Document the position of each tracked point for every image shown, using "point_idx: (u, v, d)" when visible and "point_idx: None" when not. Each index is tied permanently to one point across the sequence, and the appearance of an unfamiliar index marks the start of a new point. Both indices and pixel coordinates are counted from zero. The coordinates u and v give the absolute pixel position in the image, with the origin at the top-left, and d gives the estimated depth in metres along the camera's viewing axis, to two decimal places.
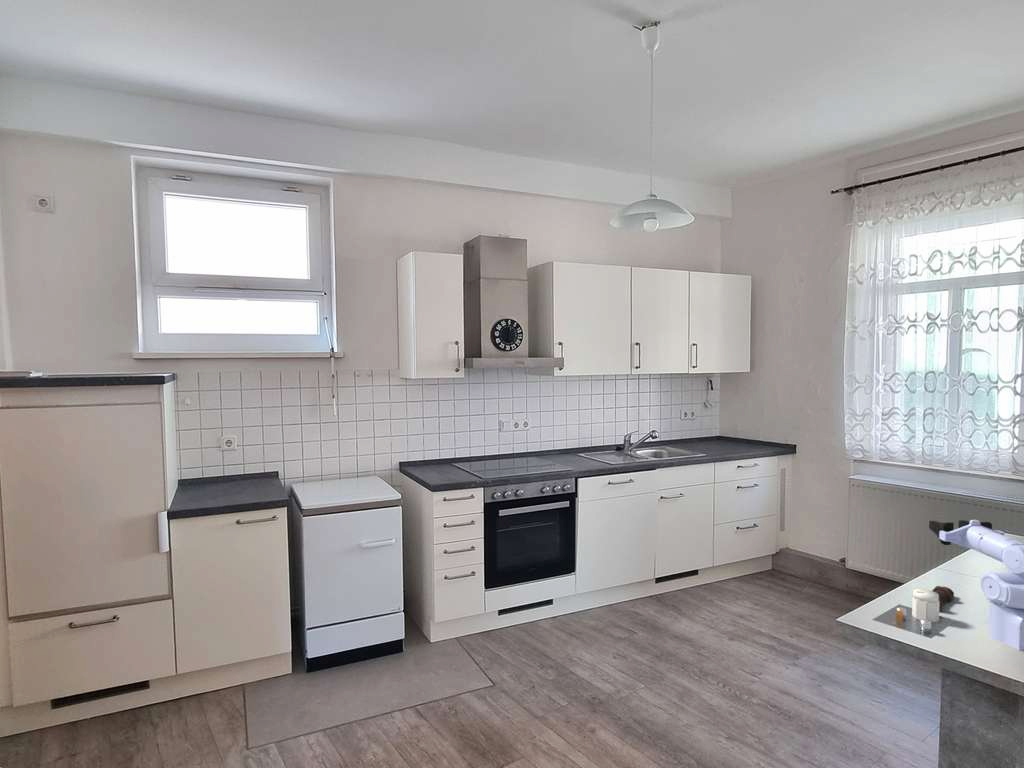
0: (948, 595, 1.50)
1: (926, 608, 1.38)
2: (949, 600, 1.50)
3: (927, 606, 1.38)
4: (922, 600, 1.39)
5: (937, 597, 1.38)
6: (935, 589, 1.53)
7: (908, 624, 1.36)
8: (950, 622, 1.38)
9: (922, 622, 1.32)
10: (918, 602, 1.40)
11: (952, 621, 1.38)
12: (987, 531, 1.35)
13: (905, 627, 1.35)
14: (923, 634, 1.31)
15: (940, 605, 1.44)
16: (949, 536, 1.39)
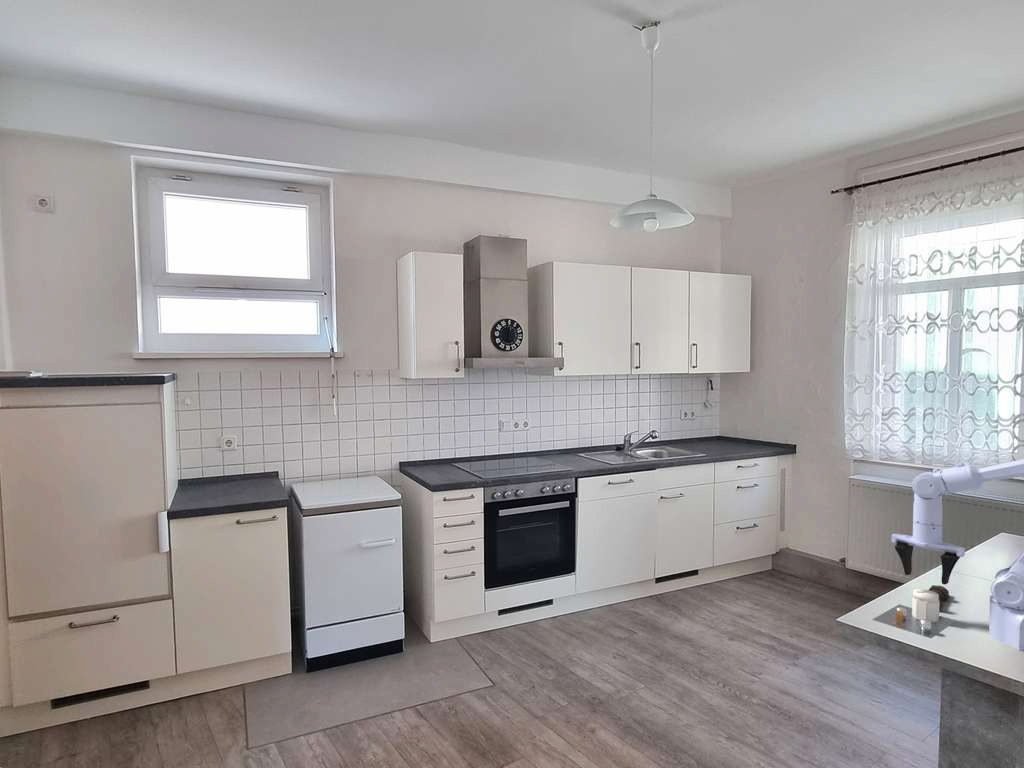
0: (944, 594, 1.51)
1: (926, 608, 1.38)
2: (945, 599, 1.51)
3: (927, 606, 1.38)
4: (922, 600, 1.39)
5: (937, 597, 1.38)
6: (931, 588, 1.53)
7: (908, 624, 1.36)
8: (950, 622, 1.38)
9: (922, 622, 1.32)
10: (918, 602, 1.40)
11: (952, 621, 1.38)
12: (925, 526, 1.38)
13: (905, 627, 1.35)
14: (923, 634, 1.31)
15: (940, 605, 1.44)
16: (957, 547, 1.35)
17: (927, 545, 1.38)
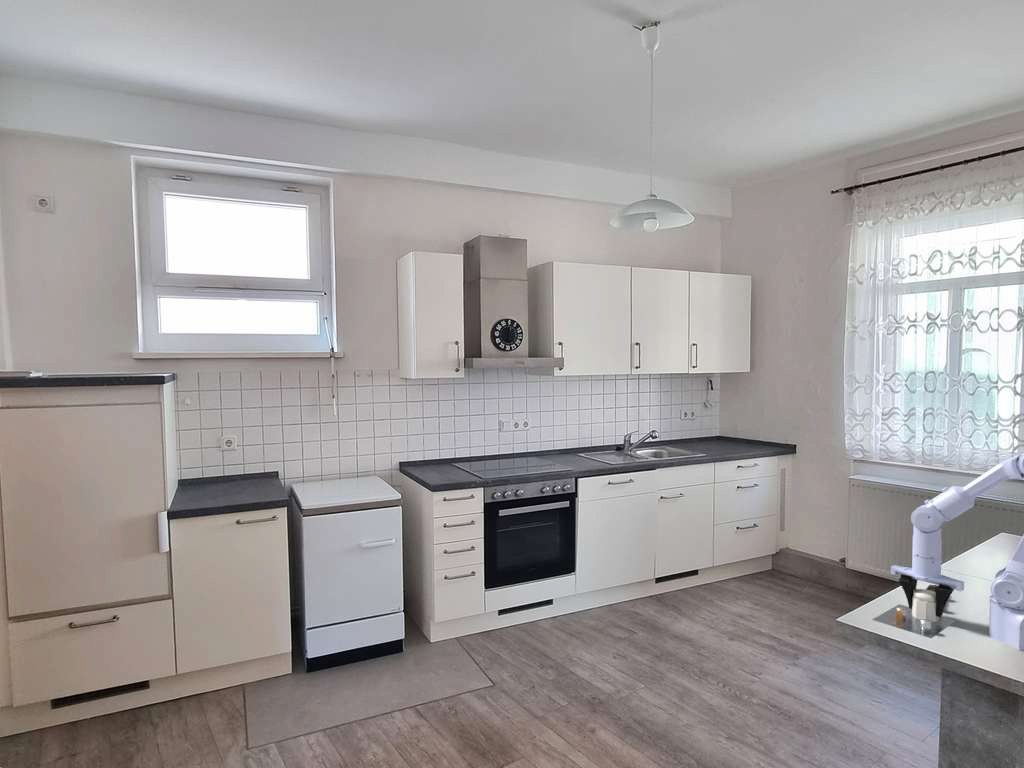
0: None
1: (926, 608, 1.38)
2: None
3: (927, 606, 1.38)
4: (922, 600, 1.39)
5: None
6: (928, 588, 1.53)
7: (908, 624, 1.36)
8: (950, 622, 1.38)
9: (922, 622, 1.32)
10: (918, 602, 1.40)
11: (952, 621, 1.38)
12: (925, 560, 1.38)
13: (905, 627, 1.35)
14: (923, 634, 1.31)
15: None
16: (956, 582, 1.35)
17: (926, 579, 1.38)
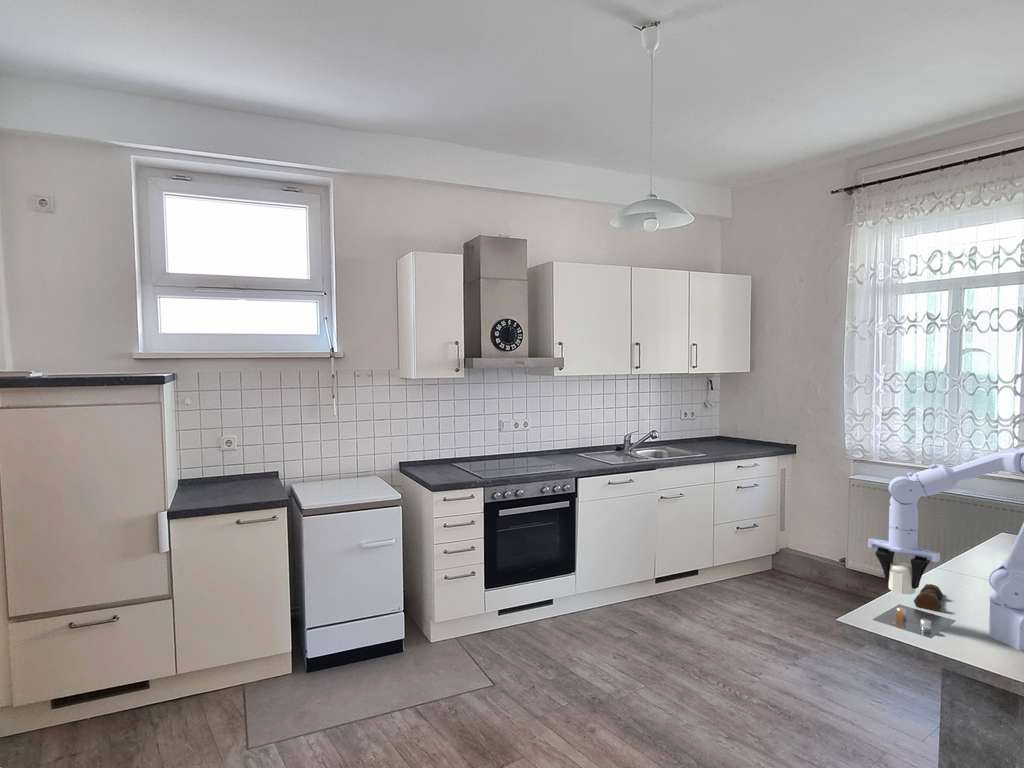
0: (938, 593, 1.52)
1: (902, 581, 1.37)
2: (939, 598, 1.52)
3: (903, 578, 1.37)
4: (898, 572, 1.38)
5: None
6: (925, 588, 1.54)
7: (908, 624, 1.36)
8: (950, 622, 1.38)
9: (922, 622, 1.32)
10: (894, 575, 1.38)
11: (952, 621, 1.38)
12: (901, 531, 1.37)
13: (905, 627, 1.35)
14: (923, 634, 1.31)
15: (939, 605, 1.44)
16: None
17: (902, 550, 1.36)
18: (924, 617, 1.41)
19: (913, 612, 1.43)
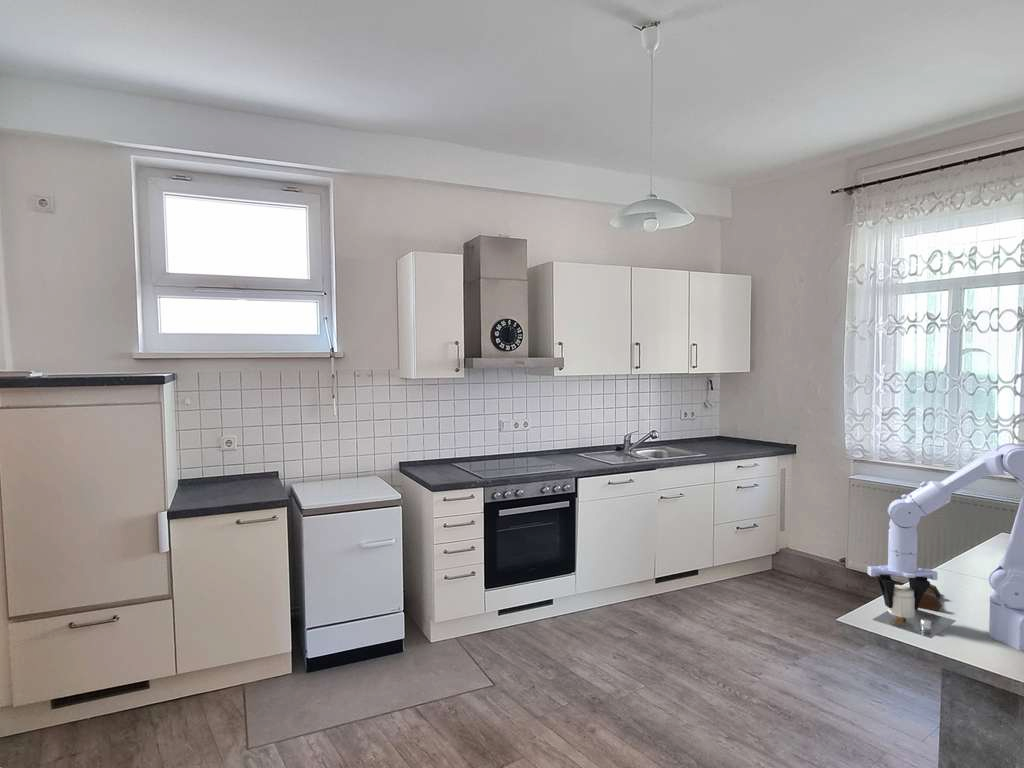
0: (936, 592, 1.52)
1: (910, 605, 1.37)
2: (937, 597, 1.52)
3: (911, 602, 1.37)
4: (907, 597, 1.37)
5: None
6: None
7: (908, 624, 1.36)
8: (950, 622, 1.38)
9: (922, 622, 1.32)
10: (903, 600, 1.37)
11: (952, 621, 1.38)
12: (911, 556, 1.36)
13: (905, 627, 1.35)
14: (923, 634, 1.31)
15: (939, 605, 1.44)
16: (930, 571, 1.38)
17: None
18: (924, 617, 1.41)
19: None
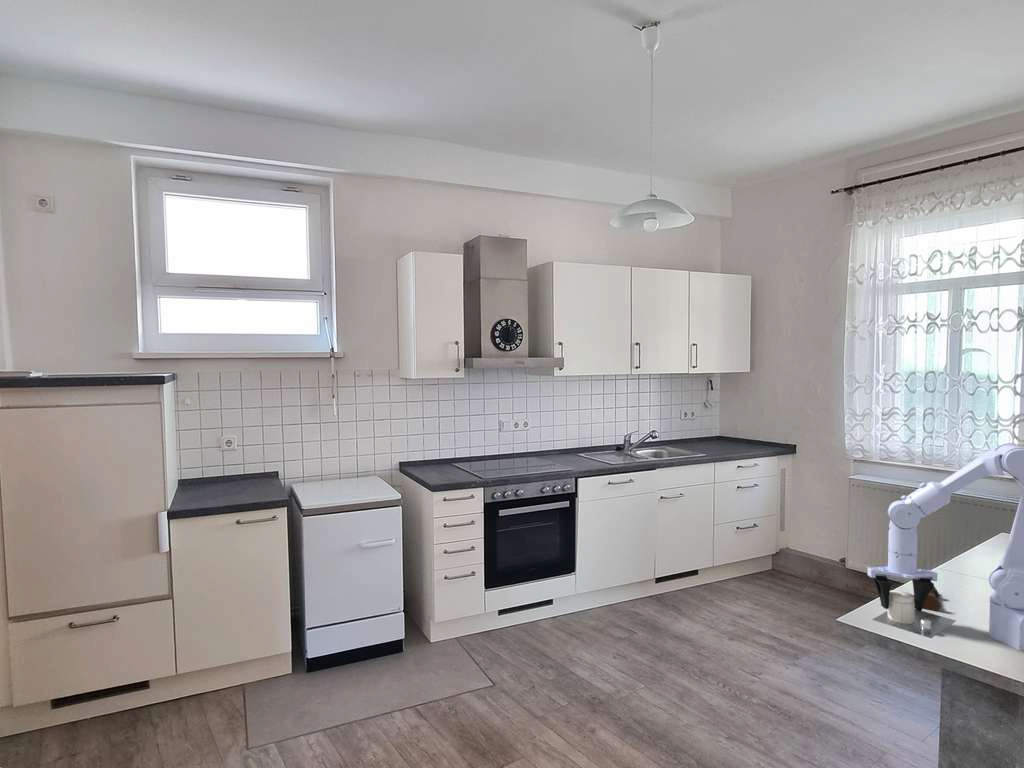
0: (935, 592, 1.52)
1: (910, 611, 1.37)
2: (936, 597, 1.52)
3: (911, 608, 1.37)
4: (907, 603, 1.37)
5: None
6: None
7: (908, 624, 1.36)
8: (950, 622, 1.38)
9: (922, 622, 1.32)
10: (903, 606, 1.37)
11: (952, 621, 1.38)
12: (911, 557, 1.36)
13: (905, 627, 1.35)
14: (923, 634, 1.31)
15: (939, 605, 1.44)
16: (930, 572, 1.38)
17: None
18: (924, 617, 1.41)
19: None
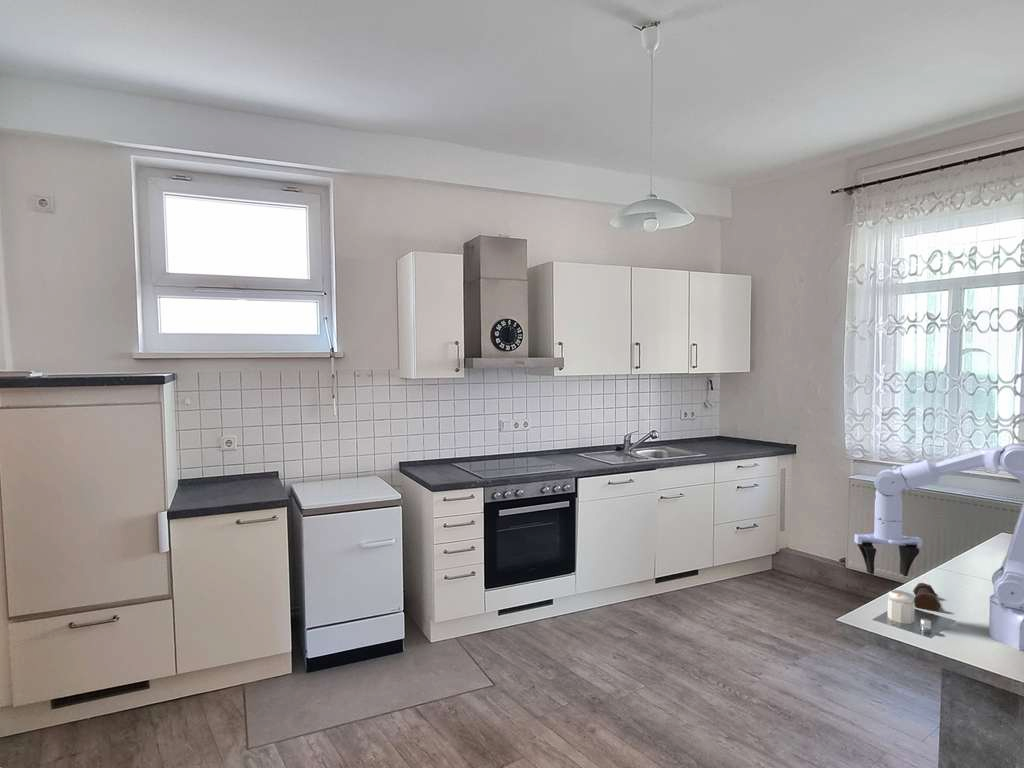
0: (932, 592, 1.52)
1: (910, 611, 1.37)
2: None
3: (911, 608, 1.37)
4: (907, 603, 1.37)
5: None
6: (919, 587, 1.54)
7: (908, 624, 1.36)
8: (950, 622, 1.38)
9: (922, 622, 1.32)
10: (903, 606, 1.37)
11: (952, 621, 1.38)
12: (896, 523, 1.41)
13: (905, 627, 1.35)
14: (923, 634, 1.31)
15: (938, 604, 1.44)
16: (915, 538, 1.42)
17: None
18: (924, 617, 1.41)
19: None
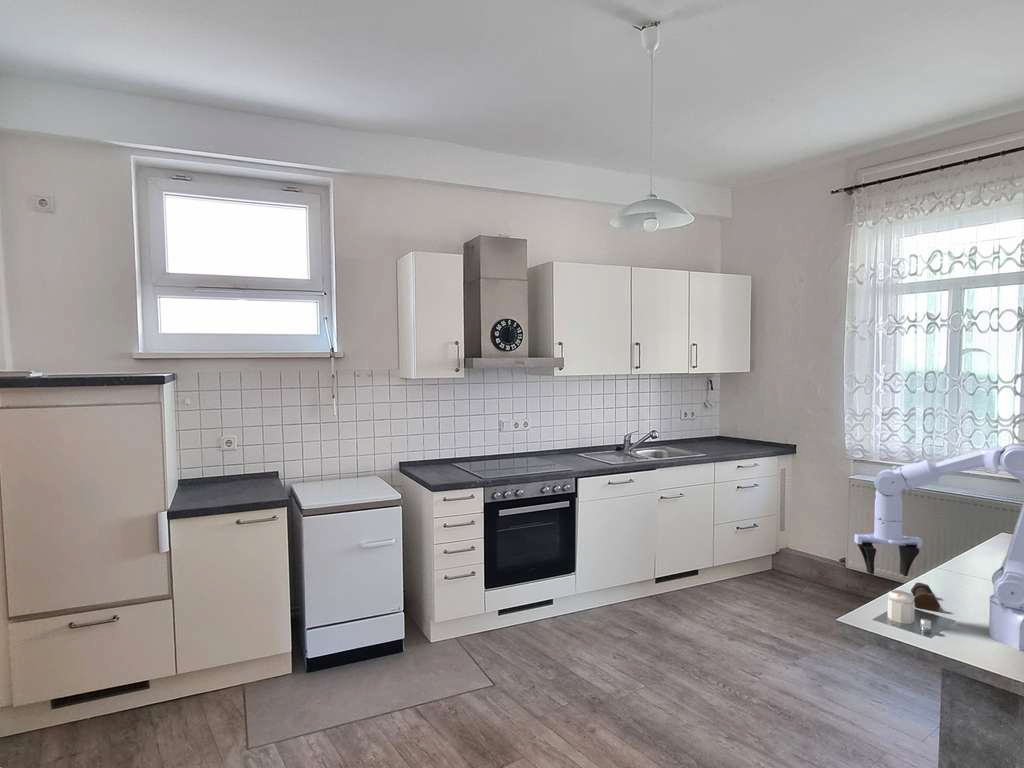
0: (930, 591, 1.53)
1: (910, 611, 1.37)
2: None
3: (911, 608, 1.37)
4: (907, 603, 1.37)
5: None
6: (917, 587, 1.54)
7: (908, 624, 1.36)
8: (950, 622, 1.38)
9: (922, 622, 1.32)
10: (903, 606, 1.37)
11: (952, 621, 1.38)
12: (896, 523, 1.41)
13: (905, 627, 1.35)
14: (923, 634, 1.31)
15: (938, 604, 1.44)
16: (915, 538, 1.42)
17: None
18: (924, 617, 1.41)
19: None
